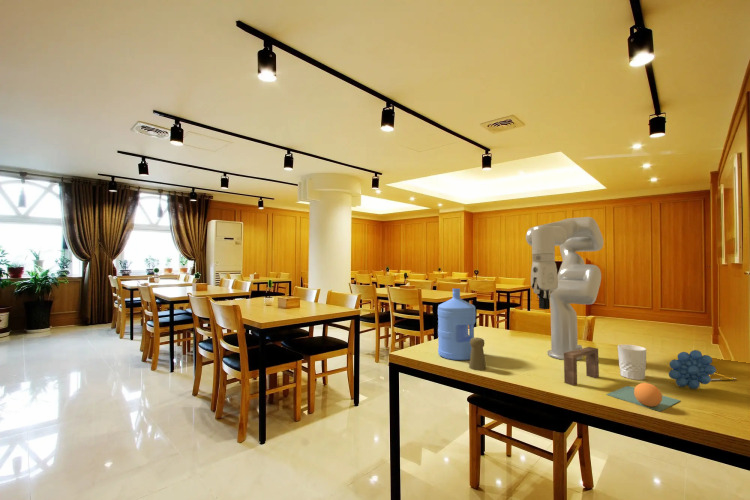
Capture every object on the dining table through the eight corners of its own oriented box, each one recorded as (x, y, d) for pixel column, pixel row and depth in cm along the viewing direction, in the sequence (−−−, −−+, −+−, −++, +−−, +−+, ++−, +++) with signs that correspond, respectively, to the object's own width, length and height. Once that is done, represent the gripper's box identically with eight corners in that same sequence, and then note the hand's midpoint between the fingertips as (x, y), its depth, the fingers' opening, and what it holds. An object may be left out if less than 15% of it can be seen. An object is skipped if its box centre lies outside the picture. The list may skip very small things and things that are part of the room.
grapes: (707, 386, 107) (706, 347, 107) (721, 394, 100) (720, 353, 101) (662, 381, 111) (661, 345, 111) (673, 389, 104) (672, 350, 105)
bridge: (564, 382, 110) (563, 352, 111) (589, 374, 118) (588, 346, 118) (573, 385, 108) (573, 355, 108) (598, 377, 115) (598, 348, 115)
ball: (649, 407, 95) (635, 385, 98) (671, 401, 91) (656, 379, 94) (638, 410, 92) (625, 387, 95) (661, 404, 88) (645, 381, 91)
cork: (487, 370, 123) (486, 340, 123) (469, 369, 124) (469, 339, 124) (485, 365, 128) (484, 336, 129) (468, 364, 130) (468, 335, 130)
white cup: (641, 374, 118) (640, 345, 118) (651, 382, 111) (650, 351, 111) (615, 371, 121) (614, 343, 121) (623, 379, 113) (622, 349, 114)
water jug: (432, 356, 140) (431, 289, 141) (446, 348, 153) (446, 286, 154) (468, 363, 132) (467, 291, 132) (481, 353, 144) (480, 288, 145)
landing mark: (627, 386, 107) (627, 385, 107) (680, 401, 96) (680, 400, 96) (606, 394, 100) (606, 394, 100) (660, 411, 89) (660, 410, 89)
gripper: (540, 259, 118) (541, 311, 118) (565, 258, 126) (566, 308, 125) (521, 259, 125) (522, 309, 124) (546, 259, 132) (547, 306, 132)
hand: (544, 308), depth 125 cm, fingers closed
